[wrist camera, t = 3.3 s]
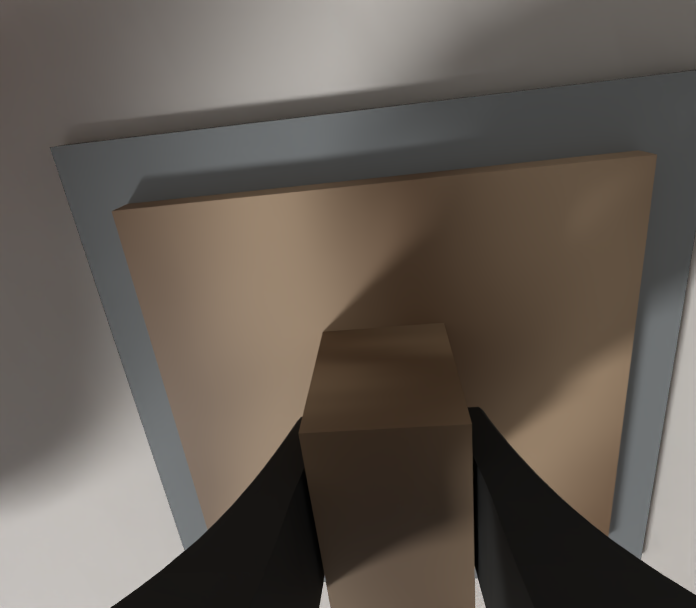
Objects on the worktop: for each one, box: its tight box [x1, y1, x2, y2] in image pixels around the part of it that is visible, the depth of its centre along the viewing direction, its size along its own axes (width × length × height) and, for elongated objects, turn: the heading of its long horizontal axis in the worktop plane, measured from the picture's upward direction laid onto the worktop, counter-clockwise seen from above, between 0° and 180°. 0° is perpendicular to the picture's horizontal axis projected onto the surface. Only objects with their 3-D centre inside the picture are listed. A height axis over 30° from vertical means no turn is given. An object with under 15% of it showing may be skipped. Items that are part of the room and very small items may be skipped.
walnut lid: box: [112, 150, 657, 608], centre depth 12 cm, size 12×12×5 cm
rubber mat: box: [50, 70, 696, 582], centre depth 14 cm, size 15×15×1 cm
